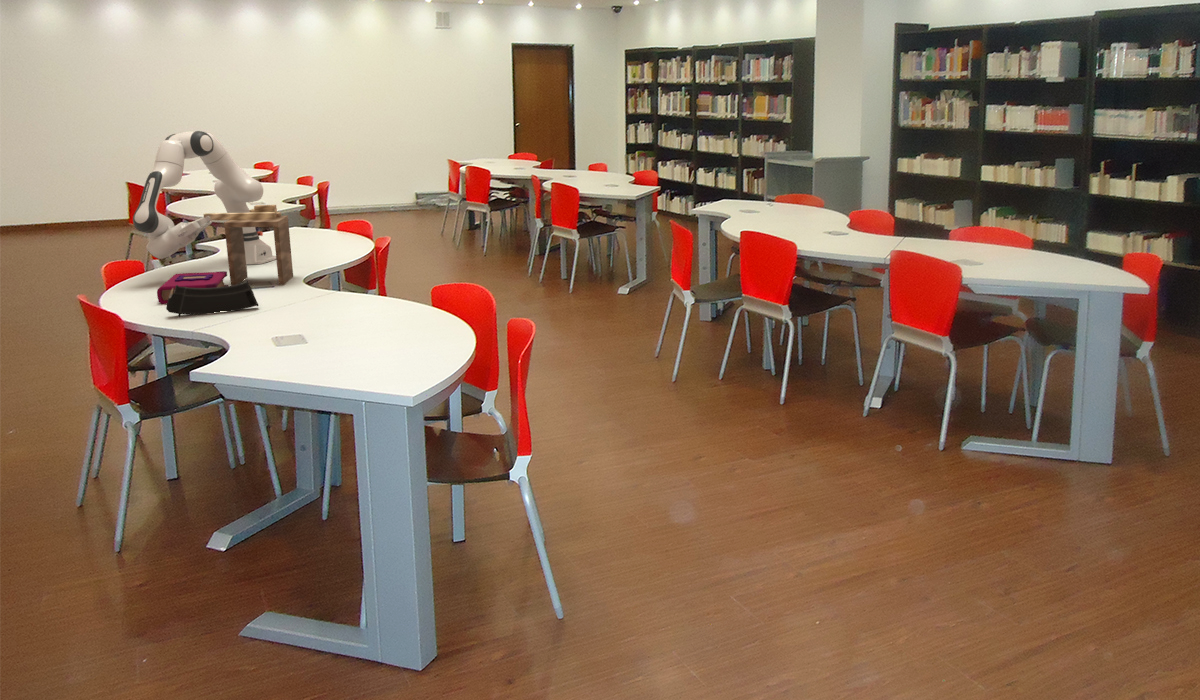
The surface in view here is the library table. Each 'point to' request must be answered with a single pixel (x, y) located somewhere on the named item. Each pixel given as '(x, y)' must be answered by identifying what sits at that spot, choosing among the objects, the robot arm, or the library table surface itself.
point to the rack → (238, 250)
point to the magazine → (210, 299)
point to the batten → (241, 216)
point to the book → (191, 282)
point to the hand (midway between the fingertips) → (212, 215)
